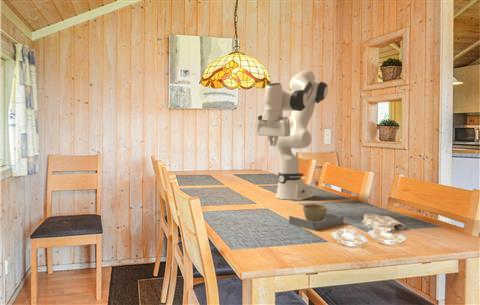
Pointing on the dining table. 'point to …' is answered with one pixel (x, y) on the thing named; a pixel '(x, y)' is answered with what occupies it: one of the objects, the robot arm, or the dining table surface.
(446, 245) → the dining table surface
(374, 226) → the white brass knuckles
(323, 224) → the frame
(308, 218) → the flower pot
